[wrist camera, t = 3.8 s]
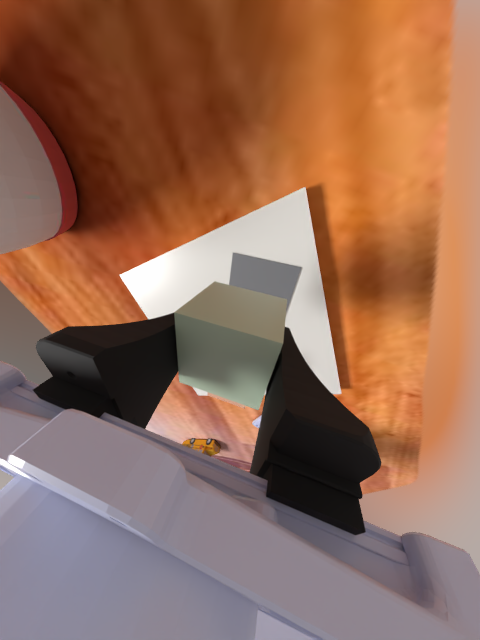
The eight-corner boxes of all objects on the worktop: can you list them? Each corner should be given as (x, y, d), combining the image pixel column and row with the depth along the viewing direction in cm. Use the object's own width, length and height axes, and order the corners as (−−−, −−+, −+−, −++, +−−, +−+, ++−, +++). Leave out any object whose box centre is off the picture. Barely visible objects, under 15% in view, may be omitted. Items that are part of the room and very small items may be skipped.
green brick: (287, 299, 10) (283, 343, 7) (268, 355, 13) (258, 410, 9) (214, 281, 11) (174, 312, 7) (210, 337, 14) (179, 382, 10)
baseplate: (339, 387, 22) (341, 394, 21) (200, 390, 31) (197, 395, 30) (304, 188, 13) (305, 186, 12) (126, 273, 22) (118, 275, 21)
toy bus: (222, 445, 40) (215, 465, 37) (192, 444, 44) (184, 461, 41) (215, 437, 39) (208, 457, 35) (185, 437, 43) (176, 454, 40)
